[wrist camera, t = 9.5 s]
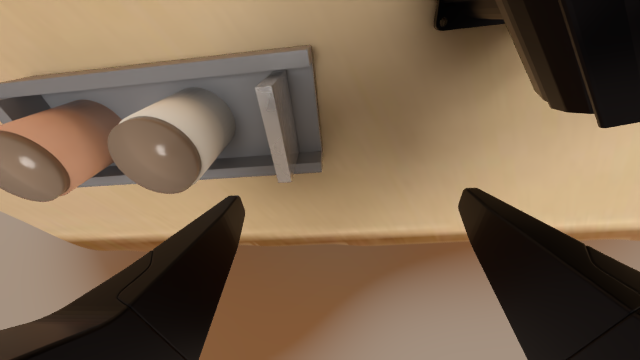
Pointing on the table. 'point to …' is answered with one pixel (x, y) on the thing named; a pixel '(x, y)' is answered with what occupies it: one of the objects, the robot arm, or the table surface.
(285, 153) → the plate
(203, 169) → the cream jar
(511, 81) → the table surface
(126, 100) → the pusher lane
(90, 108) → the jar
